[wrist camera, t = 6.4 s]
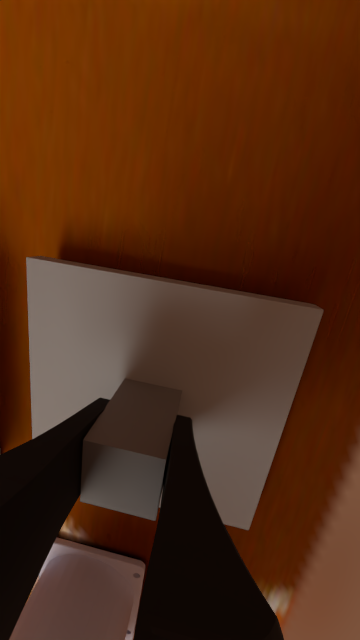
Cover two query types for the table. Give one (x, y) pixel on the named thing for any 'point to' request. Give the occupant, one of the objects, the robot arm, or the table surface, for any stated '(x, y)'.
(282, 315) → the lid
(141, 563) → the robot arm
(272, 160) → the table surface
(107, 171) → the table surface
